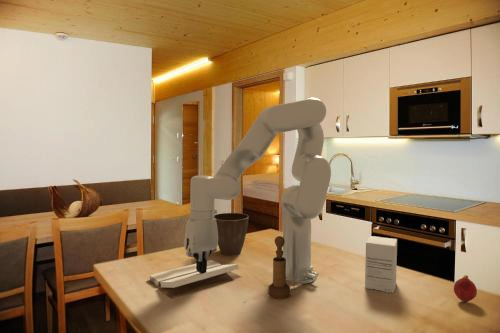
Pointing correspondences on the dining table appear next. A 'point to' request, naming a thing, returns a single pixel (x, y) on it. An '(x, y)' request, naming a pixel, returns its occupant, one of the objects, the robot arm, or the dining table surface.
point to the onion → (465, 289)
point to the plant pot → (231, 232)
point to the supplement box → (381, 264)
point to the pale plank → (198, 276)
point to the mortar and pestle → (279, 273)
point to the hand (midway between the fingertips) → (201, 271)
